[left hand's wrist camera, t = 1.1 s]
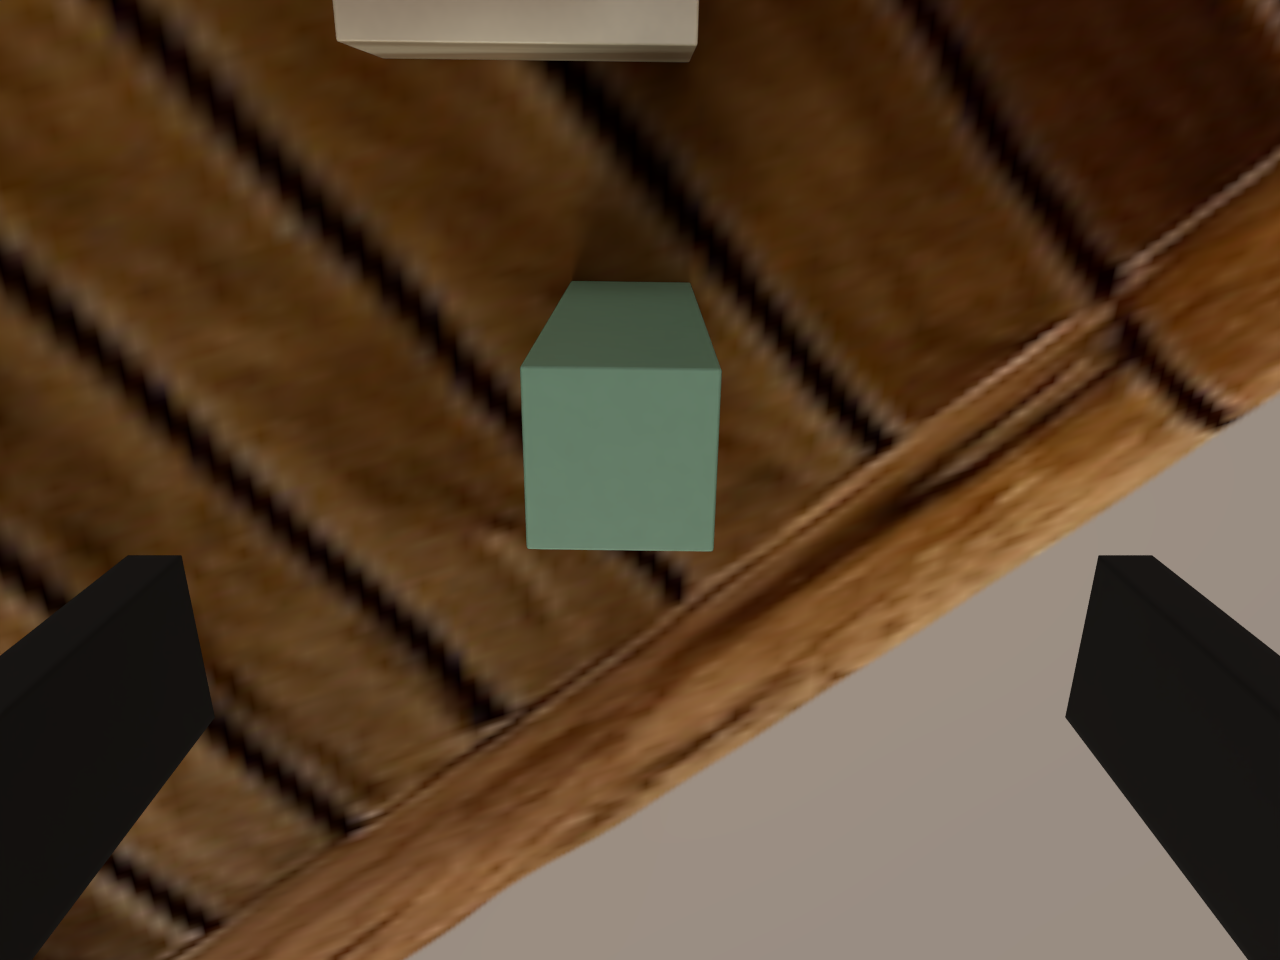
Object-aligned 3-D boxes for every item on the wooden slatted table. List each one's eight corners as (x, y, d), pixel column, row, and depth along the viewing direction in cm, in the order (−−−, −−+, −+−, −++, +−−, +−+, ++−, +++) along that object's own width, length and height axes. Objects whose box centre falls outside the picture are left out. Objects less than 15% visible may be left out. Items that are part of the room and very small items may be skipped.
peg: (572, 396, 29) (526, 549, 18) (570, 280, 28) (519, 366, 16) (686, 398, 29) (713, 552, 18) (690, 282, 28) (722, 368, 16)
